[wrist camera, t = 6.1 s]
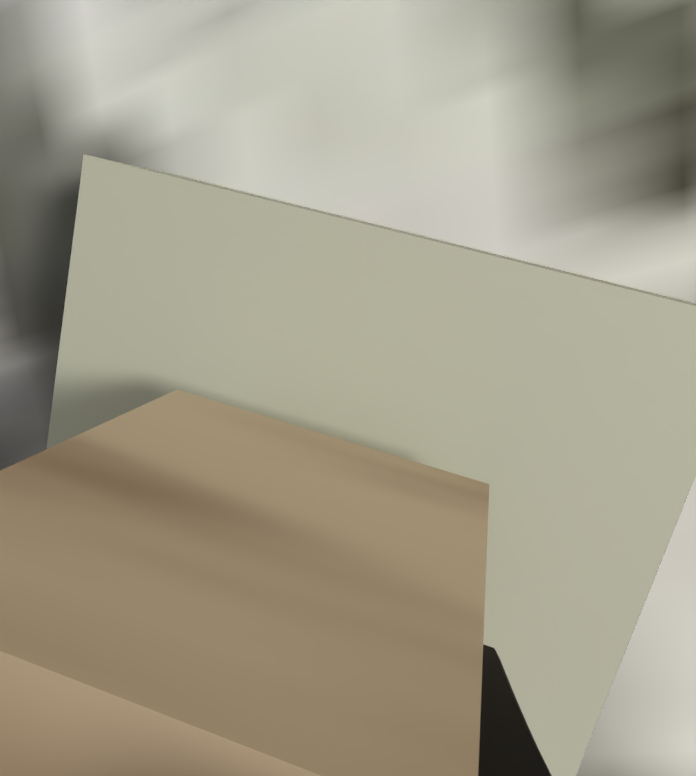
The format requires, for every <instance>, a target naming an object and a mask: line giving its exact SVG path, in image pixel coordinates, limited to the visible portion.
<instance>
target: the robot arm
mask: <svg viewBox="0 0 696 776" xmlns="http://www.w3.org/2000/svg"><path fill="white" fill-rule="evenodd" d="M478 776H552V775H551V773H550V771H549V769H548V767H547V765H546V763H545V761H544V759H543V757H542V755H541V753H540V751H539V749H538V747H537V744H536V742H535V740H534V738H533V736H532V734H531V731H530V729H529V727H528V725H527V722H526V720H525V718H524V716H523V713H522V711H521V709H520V706H519V704H518V702H517V699H516V697H515V695H514V692H513V690H512V687H511V685H510V683H509V680H508V678H507V675H506V673H505V670H504V668H503V665H502V663H501V660H500V658H499V656H498V654H497V652H496V650H495V648H493V647H490V646H487V645H484V644H483V663H482V689H481V715H480V741H479V767H478Z"/></svg>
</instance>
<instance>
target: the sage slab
mask: <svg viewBox="0 0 696 776" xmlns="http://www.w3.org/2000/svg"><path fill="white" fill-rule="evenodd" d="M175 390H181V391H184V392H187V393H191V394H194V395H197V396H201V397H204V398H207V399H210V400H214V401H217V402H220V403H224V404H227V405H230V406H233V407H237V408H240V409H243V410H247V411H250V412H253V413H257V414H260V415H263V416H266V417H270V418H273V419H276V420H280V421H283V422H286V423H289V424H293V425H296V426H299V427H303V428H306V429H309V430H313V431H316V432H319V433H322V434H326V435H329V436H332V437H336V438H339V439H342V440H345V441H349V442H352V443H355V444H359V445H362V446H365V447H369V448H372V449H375V450H378V451H382V452H385V453H388V454H392V455H395V456H398V457H401V458H405V459H408V460H411V461H415V462H418V463H421V464H425V465H428V466H431V467H434V468H438V469H441V470H444V471H448V472H451V473H454V474H457V475H461V476H464V477H467V478H471V479H474V480H477V481H481V482H484V483H487V484H489V507H488V533H487V559H486V585H485V611H484V637H483V644H484V645H487V646H490V647H493V648H495V650H496V652H497V654H498V656H499V658H500V660H501V663H502V665H503V668H504V670H505V673H506V675H507V678H508V680H509V683H510V685H511V687H512V690H513V692H514V695H515V697H516V699H517V702H518V704H519V706H520V709H521V711H522V713H523V716H524V718H525V720H526V722H527V725H528V727H529V729H530V731H531V734H532V736H533V738H534V740H535V742H536V744H537V747H538V749H539V751H540V753H541V755H542V757H543V759H544V761H545V763H546V765H547V767H548V769H549V771H550V773H551V775H552V776H576V774H577V771H578V769H579V766H580V764H581V761H582V759H583V756H584V754H585V751H586V749H587V746H588V744H589V741H590V739H591V736H592V734H593V731H594V729H595V726H596V724H597V721H598V719H599V716H600V714H601V711H602V709H603V706H604V704H605V701H606V699H607V696H608V694H609V691H610V689H611V686H612V684H613V681H614V679H615V676H616V674H617V671H618V669H619V666H620V664H621V661H622V659H623V656H624V654H625V651H626V649H627V646H628V644H629V641H630V639H631V636H632V634H633V631H634V629H635V626H636V624H637V621H638V619H639V616H640V614H641V611H642V609H643V606H644V604H645V601H646V599H647V596H648V594H649V591H650V589H651V586H652V584H653V581H654V579H655V576H656V574H657V571H658V569H659V566H660V564H661V561H662V558H663V556H664V553H665V551H666V548H667V546H668V543H669V541H670V538H671V536H672V533H673V531H674V528H675V526H676V523H677V521H678V518H679V516H680V513H681V511H682V508H683V506H684V503H685V501H686V498H687V496H688V493H689V491H690V488H691V486H692V483H693V481H694V478H695V476H696V304H694V303H690V302H686V301H682V300H678V299H674V298H670V297H666V296H662V295H658V294H654V293H650V292H646V291H642V290H638V289H634V288H629V287H625V286H621V285H617V284H613V283H609V282H605V281H601V280H597V279H593V278H589V277H585V276H581V275H577V274H573V273H569V272H565V271H561V270H557V269H553V268H549V267H544V266H540V265H536V264H532V263H528V262H524V261H520V260H516V259H512V258H508V257H504V256H500V255H496V254H492V253H488V252H484V251H480V250H476V249H472V248H468V247H464V246H460V245H455V244H451V243H447V242H443V241H439V240H435V239H431V238H427V237H423V236H419V235H415V234H411V233H407V232H403V231H399V230H395V229H391V228H387V227H383V226H379V225H375V224H370V223H366V222H362V221H358V220H354V219H350V218H346V217H342V216H338V215H334V214H330V213H326V212H322V211H318V210H314V209H310V208H306V207H302V206H298V205H294V204H290V203H286V202H281V201H277V200H273V199H269V198H265V197H261V196H257V195H253V194H249V193H245V192H241V191H237V190H233V189H229V188H225V187H221V186H217V185H213V184H209V183H205V182H201V181H197V180H192V179H188V178H184V177H180V176H176V175H172V174H168V173H164V172H159V171H155V170H150V169H146V168H142V167H137V166H133V165H128V164H124V163H119V162H115V161H110V160H106V159H102V158H97V157H93V156H88V155H84V156H83V164H82V172H81V180H80V188H79V195H78V203H77V211H76V219H75V227H74V235H73V243H72V251H71V258H70V266H69V274H68V282H67V290H66V298H65V306H64V314H63V321H62V329H61V337H60V345H59V353H58V361H57V369H56V376H55V384H54V392H53V400H52V408H51V416H50V424H49V432H48V439H47V447H46V449H48V448H50V447H53V446H55V445H57V444H59V443H61V442H64V441H66V440H68V439H70V438H72V437H74V436H77V435H79V434H81V433H83V432H85V431H88V430H90V429H92V428H94V427H96V426H99V425H101V424H103V423H105V422H107V421H109V420H112V419H114V418H116V417H118V416H120V415H123V414H125V413H127V412H129V411H131V410H133V409H136V408H138V407H140V406H142V405H144V404H147V403H149V402H151V401H153V400H155V399H157V398H160V397H162V396H164V395H166V394H168V393H171V392H173V391H175Z"/></svg>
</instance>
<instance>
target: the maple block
mask: <svg viewBox="0 0 696 776" xmlns="http://www.w3.org/2000/svg"><path fill="white" fill-rule="evenodd" d="M488 507H489V484H487V483H484V482H481V481H477V480H474V479H471V478H467V477H464V476H461V475H457V474H454V473H451V472H448V471H444V470H441V469H438V468H434V467H431V466H428V465H425V464H421V463H418V462H415V461H411V460H408V459H405V458H401V457H398V456H395V455H392V454H388V453H385V452H382V451H378V450H375V449H372V448H369V447H365V446H362V445H359V444H355V443H352V442H349V441H345V440H342V439H339V438H336V437H332V436H329V435H326V434H322V433H319V432H316V431H313V430H309V429H306V428H303V427H299V426H296V425H293V424H289V423H286V422H283V421H280V420H276V419H273V418H270V417H266V416H263V415H260V414H257V413H253V412H250V411H247V410H243V409H240V408H237V407H233V406H230V405H227V404H224V403H220V402H217V401H214V400H210V399H207V398H204V397H201V396H197V395H194V394H191V393H187V392H184V391H181V390H175V391H173V392H171V393H168V394H166V395H164V396H162V397H160V398H157V399H155V400H153V401H151V402H149V403H147V404H144V405H142V406H140V407H138V408H136V409H133V410H131V411H129V412H127V413H125V414H123V415H120V416H118V417H116V418H114V419H112V420H109V421H107V422H105V423H103V424H101V425H99V426H96V427H94V428H92V429H90V430H88V431H85V432H83V433H81V434H79V435H77V436H74V437H72V438H70V439H68V440H66V441H64V442H61V443H59V444H57V445H55V446H53V447H50V448H48V449H46V450H44V451H42V452H40V453H37V454H35V455H33V456H31V457H29V458H26V459H24V460H22V461H20V462H18V463H16V464H13V465H11V466H9V467H7V468H5V469H2V470H0V776H478V767H479V741H480V715H481V689H482V663H483V637H484V611H485V585H486V559H487V533H488Z"/></svg>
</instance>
